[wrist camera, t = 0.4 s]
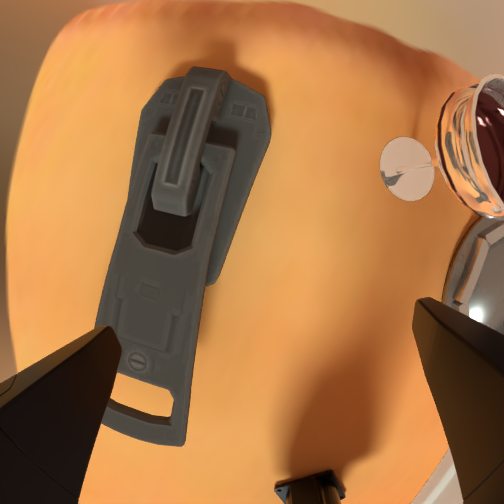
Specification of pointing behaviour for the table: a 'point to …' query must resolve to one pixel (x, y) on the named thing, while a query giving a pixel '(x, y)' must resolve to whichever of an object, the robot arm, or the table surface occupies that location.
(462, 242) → the rosette plate
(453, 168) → the wineglass
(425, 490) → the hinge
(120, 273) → the zipper pull
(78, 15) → the table surface
